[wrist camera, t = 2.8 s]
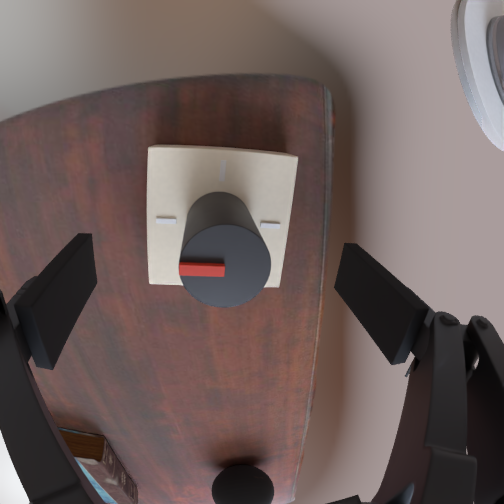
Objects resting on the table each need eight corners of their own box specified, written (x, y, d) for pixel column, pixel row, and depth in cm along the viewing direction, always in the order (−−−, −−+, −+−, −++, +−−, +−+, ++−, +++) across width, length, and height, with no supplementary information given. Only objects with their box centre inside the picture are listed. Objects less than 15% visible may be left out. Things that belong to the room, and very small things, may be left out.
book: (138, 487, 42) (137, 507, 38) (63, 474, 39) (60, 492, 35) (106, 435, 33) (101, 462, 29) (15, 415, 30) (6, 437, 26)
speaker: (200, 461, 38) (205, 514, 29) (261, 450, 39) (273, 504, 30) (220, 480, 42) (226, 525, 33) (272, 470, 43) (283, 515, 34)
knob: (253, 193, 20) (278, 228, 13) (247, 253, 22) (266, 311, 15) (187, 189, 19) (178, 224, 13) (185, 251, 21) (178, 310, 14)
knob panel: (287, 153, 22) (299, 157, 19) (271, 270, 26) (279, 288, 23) (155, 144, 20) (147, 147, 17) (154, 266, 24) (148, 285, 21)
